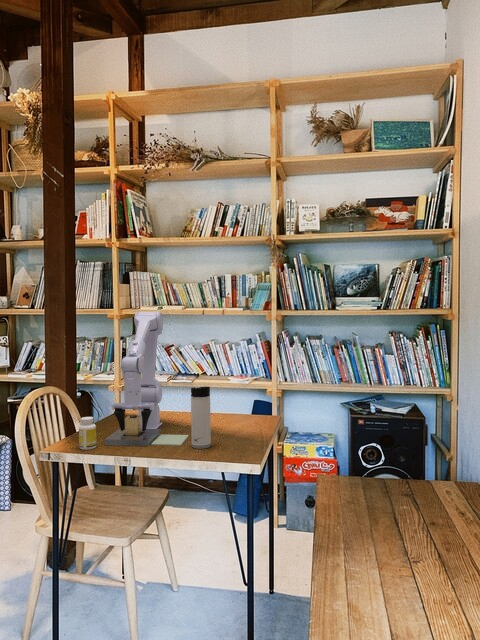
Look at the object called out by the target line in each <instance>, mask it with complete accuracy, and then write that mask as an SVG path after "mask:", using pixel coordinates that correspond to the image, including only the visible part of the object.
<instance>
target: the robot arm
mask: <svg viewBox="0 0 480 640" xmlns="http://www.w3.org/2000/svg"><path fill="white" fill-rule="evenodd" d="M133 318H134V320H133V321H134V326H135V329H136V332H135V337H134V339H133V340H131V341H130V344H129V346H128V349H127V353H126V356H125V357H122V359H121V363H120V370H121V373H122V378H123V387H124V388H123V389H124V391H123V392H124V393H123V394H124V395H123V396H124V402H112V403H111V410H113V414H114V416H115V417H116V419H117V422H118V425H119V429H121V431H123V430H125V418H126V410H138V416H141V419H142V431H145V430H146V429H159V428H160V427H161V426H162V425H163V422H160V420H161V417H160V416H161V415H160V414H161V413H160V411H161V409H160V406H159V404H160V403H161V401H162V399H163V390H162V383H161V382H160V381H159V380H158V379H157V378H156V365H157V348H158V337H159V335H162V334H163V331H164V330H163V329H164V328H163V327H164V325H163V324H164V315H163V313H162V311H160V310H157V311H139V310H138V311H136V312H135V314H134V317H133Z"/></svg>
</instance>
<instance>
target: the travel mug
mask: <svg viewBox="0 0 480 640" xmlns="http://www.w3.org/2000/svg"><path fill="white" fill-rule="evenodd" d="M190 421H191V422H190V423H191V433H190V434H191V448H193V449H197V450H198V449H199V450H204V449H207V448H208V449H209V448H210V447H211V446H212V441H211V440H212V439H211V435H212V431H211V428H212V427H211V387H210V386H199V387H190Z"/></svg>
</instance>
